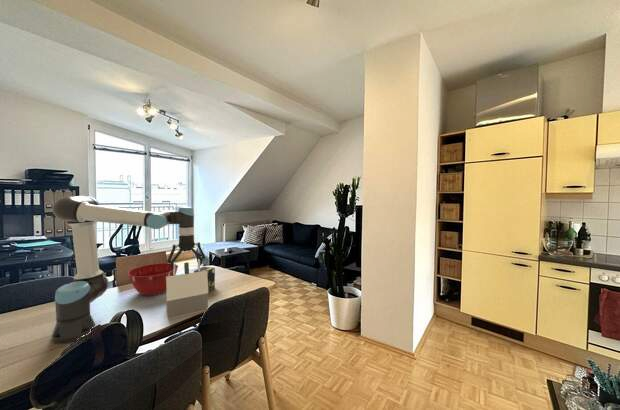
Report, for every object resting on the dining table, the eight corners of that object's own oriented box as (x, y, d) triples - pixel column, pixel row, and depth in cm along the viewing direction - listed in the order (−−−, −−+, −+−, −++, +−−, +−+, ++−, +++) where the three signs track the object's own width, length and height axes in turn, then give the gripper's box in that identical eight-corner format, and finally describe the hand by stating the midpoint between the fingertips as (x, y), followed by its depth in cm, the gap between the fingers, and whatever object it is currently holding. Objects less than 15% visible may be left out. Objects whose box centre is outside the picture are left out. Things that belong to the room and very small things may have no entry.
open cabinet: (167, 319, 134) (167, 301, 133) (166, 310, 144) (166, 292, 143) (207, 310, 145) (207, 293, 144) (203, 302, 155) (203, 286, 154)
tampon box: (206, 294, 166) (205, 272, 166) (193, 292, 168) (193, 271, 167) (215, 287, 177) (215, 267, 176) (203, 286, 179) (203, 266, 178)
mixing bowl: (116, 297, 158) (116, 273, 157) (154, 281, 186) (154, 261, 185) (154, 303, 152) (153, 278, 151) (187, 286, 179) (187, 264, 178)
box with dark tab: (166, 300, 137) (167, 301, 132) (165, 265, 141) (165, 265, 136) (206, 292, 148) (208, 292, 143) (204, 260, 152) (206, 260, 147)
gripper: (161, 237, 131) (162, 278, 132) (210, 233, 144) (210, 271, 146) (161, 235, 137) (161, 274, 139) (208, 231, 151) (208, 267, 152)
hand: (186, 272), depth 142 cm, fingers open, 12 cm apart
